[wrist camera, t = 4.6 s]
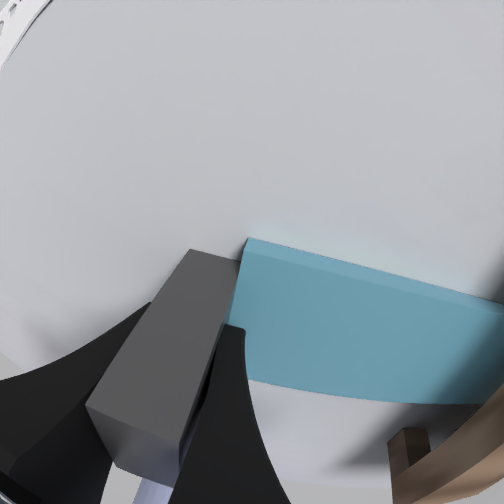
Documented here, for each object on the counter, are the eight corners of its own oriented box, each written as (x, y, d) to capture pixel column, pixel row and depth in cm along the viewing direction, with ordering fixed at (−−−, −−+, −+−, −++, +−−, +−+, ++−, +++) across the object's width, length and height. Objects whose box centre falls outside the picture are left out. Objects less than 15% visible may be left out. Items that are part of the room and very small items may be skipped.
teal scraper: (521, 390, 12) (550, 464, 6) (181, 343, 13) (121, 475, 7) (570, 324, 9) (616, 397, 3) (193, 223, 10) (73, 376, 4)
